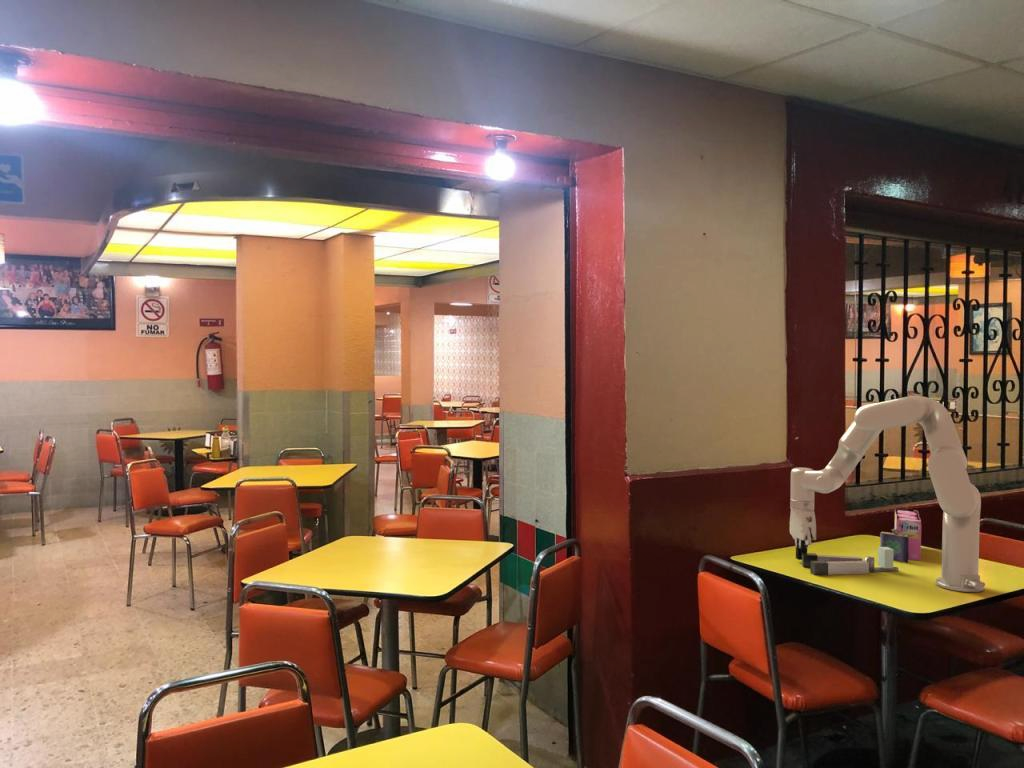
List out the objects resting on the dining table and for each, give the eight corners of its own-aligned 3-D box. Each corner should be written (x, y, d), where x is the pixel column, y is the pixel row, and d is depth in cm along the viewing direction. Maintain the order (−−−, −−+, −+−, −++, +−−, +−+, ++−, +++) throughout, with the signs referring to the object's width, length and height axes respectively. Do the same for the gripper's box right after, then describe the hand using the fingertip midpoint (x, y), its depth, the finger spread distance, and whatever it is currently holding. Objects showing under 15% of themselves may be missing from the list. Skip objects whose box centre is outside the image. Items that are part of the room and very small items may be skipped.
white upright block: (893, 568, 245) (893, 549, 245) (884, 568, 244) (884, 549, 244) (886, 565, 248) (887, 546, 248) (878, 565, 248) (878, 547, 248)
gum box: (893, 544, 285) (894, 507, 284) (917, 546, 281) (918, 509, 281) (895, 558, 263) (895, 519, 263) (921, 561, 260) (921, 521, 259)
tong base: (903, 573, 244) (903, 559, 244) (814, 575, 240) (815, 561, 240) (894, 569, 248) (894, 555, 248) (807, 571, 245) (807, 557, 245)
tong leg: (862, 569, 246) (862, 557, 246) (803, 566, 250) (803, 554, 250) (860, 567, 249) (860, 555, 249) (801, 564, 253) (801, 552, 253)
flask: (878, 558, 263) (879, 527, 263) (882, 556, 265) (883, 525, 265) (906, 563, 256) (907, 531, 256) (910, 562, 258) (911, 530, 258)
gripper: (824, 508, 249) (823, 564, 249) (801, 500, 264) (801, 553, 264) (802, 509, 248) (801, 565, 248) (781, 501, 263) (780, 554, 263)
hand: (801, 559), depth 256 cm, fingers closed
